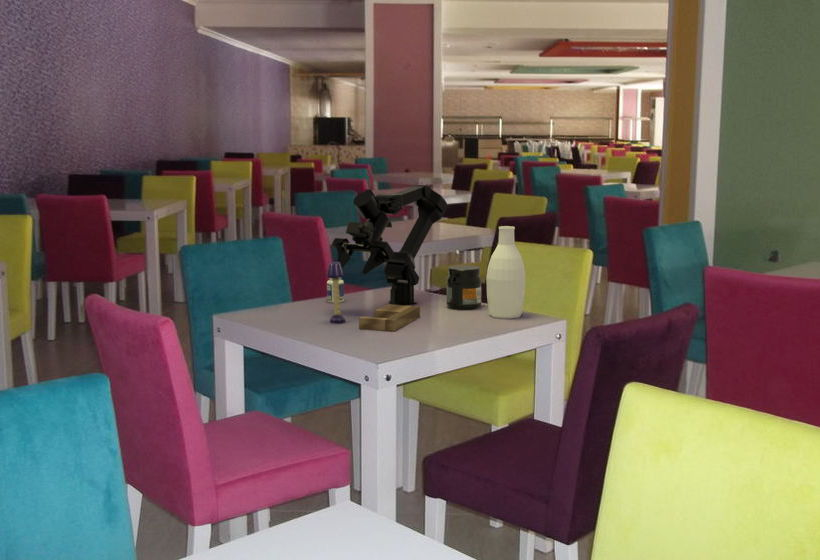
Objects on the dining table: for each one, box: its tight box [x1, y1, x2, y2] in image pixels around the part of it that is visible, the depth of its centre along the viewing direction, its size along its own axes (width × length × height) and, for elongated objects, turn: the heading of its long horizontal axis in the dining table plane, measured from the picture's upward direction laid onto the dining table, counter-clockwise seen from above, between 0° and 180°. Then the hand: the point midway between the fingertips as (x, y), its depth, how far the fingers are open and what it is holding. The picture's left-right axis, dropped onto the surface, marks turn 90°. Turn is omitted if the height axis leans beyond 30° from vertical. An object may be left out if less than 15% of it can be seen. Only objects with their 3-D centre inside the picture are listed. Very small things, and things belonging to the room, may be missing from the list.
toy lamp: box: [326, 261, 346, 324], centre depth 255 cm, size 5×5×17 cm
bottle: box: [485, 225, 527, 319], centre depth 262 cm, size 11×11×25 cm
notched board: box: [358, 303, 421, 332], centre depth 255 cm, size 10×20×3 cm, turn 160°
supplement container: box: [446, 264, 483, 311], centre depth 276 cm, size 10×10×12 cm
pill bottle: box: [326, 277, 345, 304], centre depth 286 cm, size 5×5×9 cm
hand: (350, 272), depth 260 cm, fingers open, 9 cm apart
